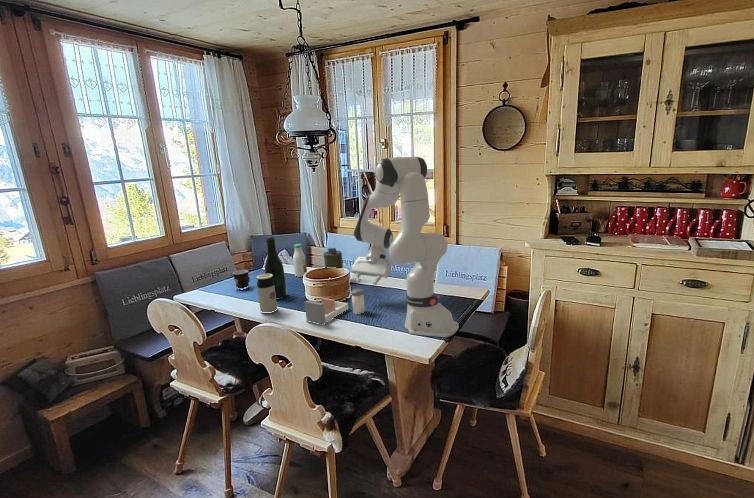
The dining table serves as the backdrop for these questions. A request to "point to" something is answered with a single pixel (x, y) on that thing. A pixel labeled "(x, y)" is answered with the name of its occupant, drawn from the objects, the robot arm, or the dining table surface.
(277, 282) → the wine bottle
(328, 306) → the spring pusher
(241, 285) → the coffee mug
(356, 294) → the jar
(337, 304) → the pusher lane
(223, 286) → the dining table surface
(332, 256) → the canister
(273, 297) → the travel mug
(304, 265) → the milk bottle
